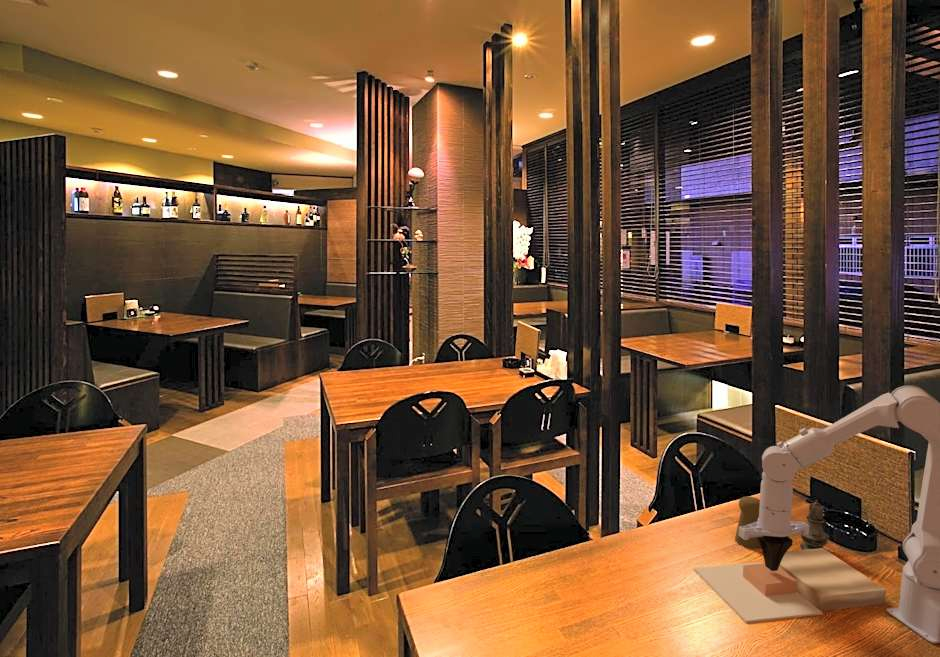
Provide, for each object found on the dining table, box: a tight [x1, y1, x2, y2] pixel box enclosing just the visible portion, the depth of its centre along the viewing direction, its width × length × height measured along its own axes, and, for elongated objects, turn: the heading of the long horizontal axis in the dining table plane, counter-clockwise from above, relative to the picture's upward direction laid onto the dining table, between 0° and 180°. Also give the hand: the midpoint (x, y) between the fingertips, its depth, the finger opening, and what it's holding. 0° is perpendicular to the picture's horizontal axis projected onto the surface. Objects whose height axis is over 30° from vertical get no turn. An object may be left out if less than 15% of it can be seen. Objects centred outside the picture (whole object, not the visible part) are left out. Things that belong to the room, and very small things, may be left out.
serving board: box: [779, 547, 887, 612], centre depth 115 cm, size 16×14×3 cm
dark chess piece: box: [799, 499, 830, 550], centre depth 129 cm, size 6×6×12 cm
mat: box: [693, 561, 824, 624], centre depth 113 cm, size 18×16×1 cm
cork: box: [734, 496, 761, 550], centre depth 132 cm, size 6×6×11 cm
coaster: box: [743, 562, 797, 596], centre depth 115 cm, size 7×7×2 cm
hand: (771, 568), depth 114 cm, fingers closed
